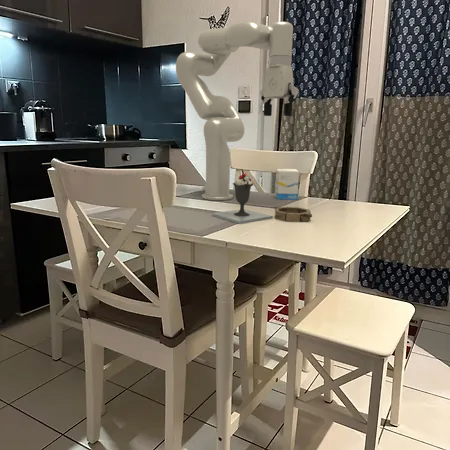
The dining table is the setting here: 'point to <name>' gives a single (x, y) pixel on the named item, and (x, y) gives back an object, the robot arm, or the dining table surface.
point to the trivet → (242, 219)
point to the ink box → (287, 184)
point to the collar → (292, 214)
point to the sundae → (242, 192)
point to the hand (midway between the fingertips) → (277, 115)
